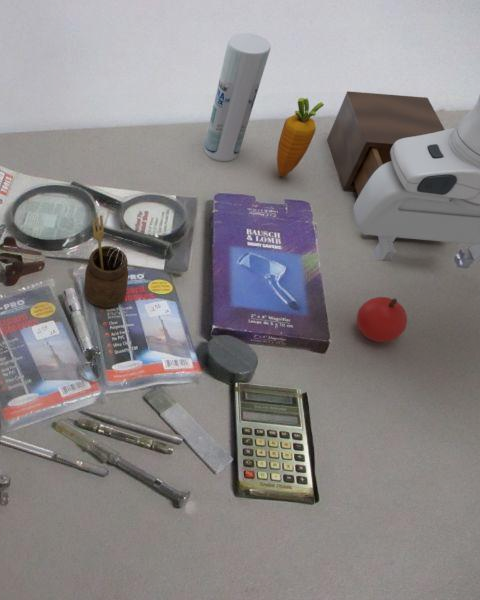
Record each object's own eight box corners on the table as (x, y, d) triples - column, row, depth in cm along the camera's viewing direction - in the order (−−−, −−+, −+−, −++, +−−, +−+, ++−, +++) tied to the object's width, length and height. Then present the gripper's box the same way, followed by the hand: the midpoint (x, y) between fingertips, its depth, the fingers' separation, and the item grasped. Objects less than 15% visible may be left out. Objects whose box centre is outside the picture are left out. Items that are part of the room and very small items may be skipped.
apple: (388, 317, 83) (412, 283, 78) (399, 353, 79) (425, 319, 74) (345, 314, 83) (366, 279, 78) (354, 348, 79) (377, 315, 74)
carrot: (299, 173, 103) (330, 96, 92) (290, 189, 100) (321, 111, 89) (272, 164, 105) (299, 86, 93) (262, 179, 102) (289, 100, 90)
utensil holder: (99, 316, 81) (106, 254, 72) (74, 286, 85) (77, 224, 75) (134, 298, 84) (144, 237, 74) (108, 270, 87) (115, 208, 78)
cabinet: (424, 197, 100) (455, 148, 93) (342, 190, 101) (366, 141, 93) (401, 145, 110) (427, 97, 102) (327, 139, 110) (347, 91, 103)
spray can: (201, 139, 109) (226, 31, 93) (236, 141, 109) (267, 33, 93) (204, 161, 105) (231, 52, 89) (241, 163, 105) (274, 54, 89)
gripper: (578, 155, 61) (500, 249, 72) (379, 138, 62) (331, 235, 72) (608, 195, 57) (520, 288, 68) (395, 176, 58) (341, 272, 68)
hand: (421, 260), depth 70 cm, fingers open, 8 cm apart
